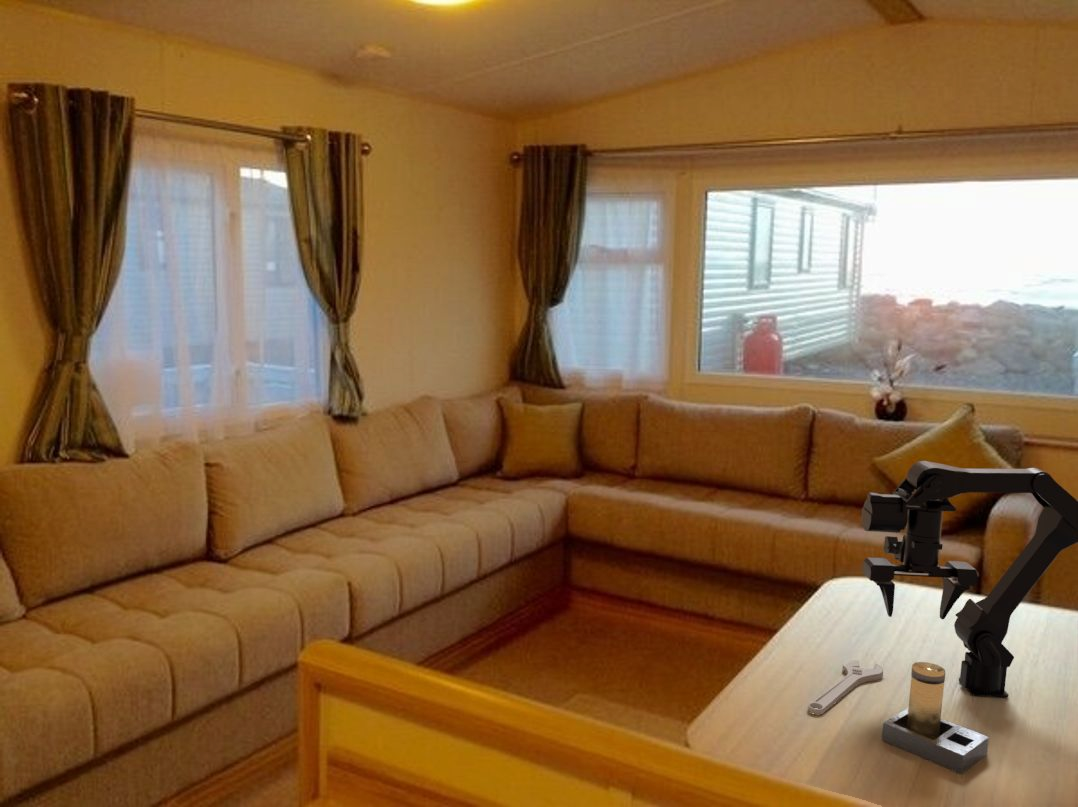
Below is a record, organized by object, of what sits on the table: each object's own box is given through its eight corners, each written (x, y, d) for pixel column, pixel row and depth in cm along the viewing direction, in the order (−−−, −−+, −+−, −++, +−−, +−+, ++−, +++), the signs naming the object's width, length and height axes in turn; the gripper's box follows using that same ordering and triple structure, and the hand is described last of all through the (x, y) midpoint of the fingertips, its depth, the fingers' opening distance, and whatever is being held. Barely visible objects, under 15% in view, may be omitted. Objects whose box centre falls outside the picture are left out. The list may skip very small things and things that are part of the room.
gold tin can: (926, 733, 150) (933, 661, 148) (945, 749, 145) (952, 674, 144) (899, 736, 149) (905, 662, 147) (917, 751, 144) (924, 676, 143)
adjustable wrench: (819, 720, 155) (820, 710, 155) (785, 706, 160) (786, 697, 159) (887, 676, 172) (888, 667, 172) (855, 665, 177) (856, 656, 177)
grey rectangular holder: (986, 755, 144) (988, 737, 143) (961, 774, 138) (963, 755, 138) (908, 723, 153) (910, 706, 153) (881, 740, 148) (883, 722, 147)
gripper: (959, 523, 171) (951, 603, 173) (857, 518, 172) (850, 598, 174) (984, 540, 160) (975, 626, 162) (874, 536, 161) (867, 621, 163)
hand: (915, 617), depth 166 cm, fingers open, 9 cm apart
